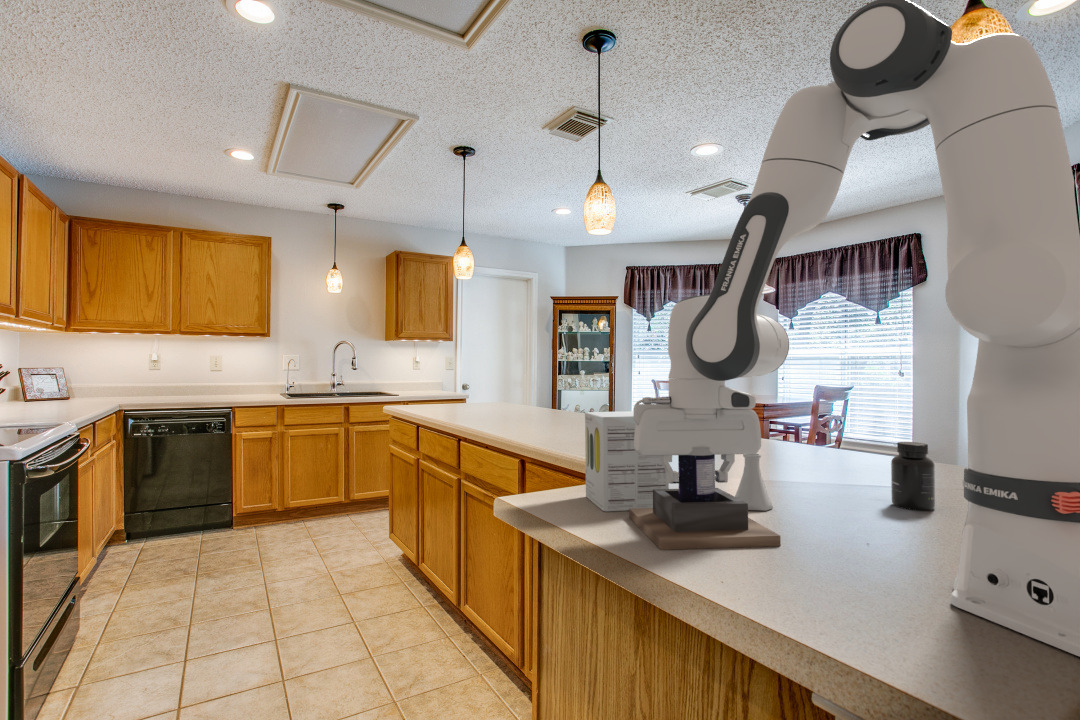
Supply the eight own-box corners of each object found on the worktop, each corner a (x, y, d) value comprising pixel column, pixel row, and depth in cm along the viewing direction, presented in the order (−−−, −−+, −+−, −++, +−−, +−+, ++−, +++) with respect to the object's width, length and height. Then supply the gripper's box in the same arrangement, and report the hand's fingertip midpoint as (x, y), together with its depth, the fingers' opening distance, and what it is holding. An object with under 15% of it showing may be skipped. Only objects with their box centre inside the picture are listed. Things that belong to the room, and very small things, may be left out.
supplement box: (584, 496, 113) (583, 411, 114) (644, 493, 116) (644, 410, 116) (602, 512, 100) (602, 416, 101) (670, 509, 103) (670, 415, 103)
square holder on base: (780, 545, 80) (780, 508, 81) (660, 549, 79) (660, 511, 79) (727, 514, 98) (727, 483, 98) (629, 517, 97) (628, 485, 97)
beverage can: (711, 516, 91) (710, 443, 92) (718, 525, 86) (718, 448, 86) (676, 515, 92) (675, 443, 92) (681, 524, 86) (681, 448, 87)
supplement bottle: (883, 504, 105) (882, 442, 105) (905, 501, 108) (904, 440, 108) (921, 513, 99) (919, 446, 99) (943, 509, 102) (942, 444, 102)
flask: (729, 509, 102) (728, 455, 103) (735, 501, 109) (735, 450, 109) (771, 513, 99) (770, 458, 99) (775, 505, 105) (774, 452, 106)
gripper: (638, 398, 85) (639, 487, 85) (765, 397, 87) (766, 485, 87) (628, 396, 91) (629, 479, 91) (747, 395, 93) (748, 477, 93)
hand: (697, 482), depth 89 cm, fingers open, 7 cm apart
